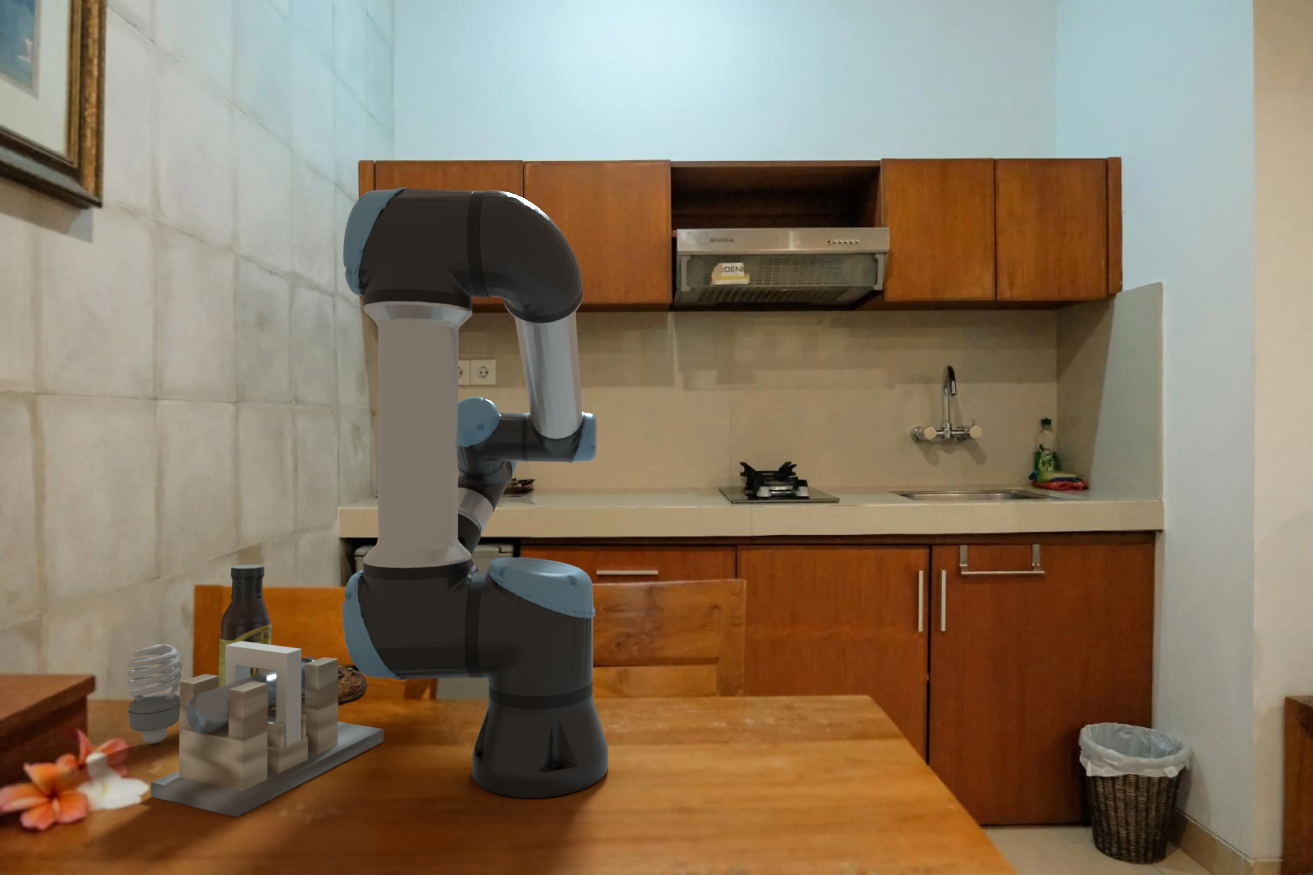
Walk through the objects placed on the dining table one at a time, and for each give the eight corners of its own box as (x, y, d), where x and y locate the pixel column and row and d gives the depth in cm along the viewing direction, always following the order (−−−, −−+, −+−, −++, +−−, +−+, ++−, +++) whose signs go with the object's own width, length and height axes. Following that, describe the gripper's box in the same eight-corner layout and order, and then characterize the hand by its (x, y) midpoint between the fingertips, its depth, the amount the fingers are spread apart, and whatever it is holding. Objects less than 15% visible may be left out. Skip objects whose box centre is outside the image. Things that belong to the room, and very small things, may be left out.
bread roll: (383, 685, 119) (379, 653, 118) (337, 721, 108) (333, 686, 108) (319, 682, 122) (315, 651, 121) (268, 717, 111) (264, 683, 110)
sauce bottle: (247, 723, 103) (248, 571, 103) (206, 720, 104) (207, 569, 104) (281, 707, 109) (282, 563, 109) (241, 704, 111) (242, 561, 111)
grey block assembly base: (383, 741, 97) (383, 647, 97) (236, 817, 78) (237, 699, 78) (307, 728, 101) (308, 638, 101) (150, 796, 82) (151, 685, 82)
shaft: (296, 691, 95) (296, 654, 95) (324, 695, 93) (324, 658, 93) (185, 733, 81) (185, 690, 81) (216, 739, 80) (216, 695, 80)
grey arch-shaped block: (300, 739, 87) (301, 648, 87) (286, 746, 85) (287, 653, 85) (240, 728, 90) (240, 640, 90) (224, 734, 88) (225, 645, 88)
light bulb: (186, 733, 99) (187, 637, 99) (175, 749, 94) (175, 648, 94) (134, 738, 98) (135, 641, 98) (120, 755, 92) (120, 652, 92)
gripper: (505, 542, 122) (438, 681, 107) (434, 537, 127) (361, 670, 111) (486, 510, 117) (413, 651, 102) (413, 507, 122) (333, 642, 106)
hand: (386, 661), depth 106 cm, fingers closed
